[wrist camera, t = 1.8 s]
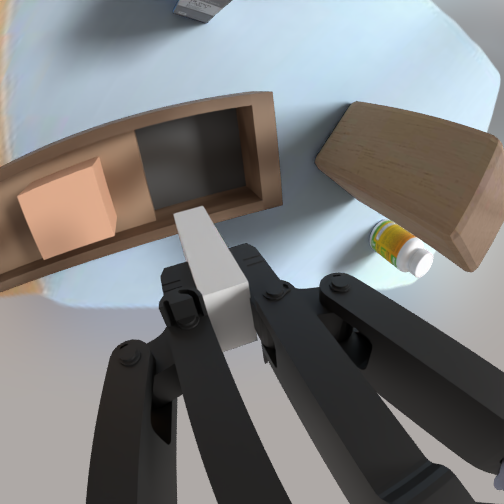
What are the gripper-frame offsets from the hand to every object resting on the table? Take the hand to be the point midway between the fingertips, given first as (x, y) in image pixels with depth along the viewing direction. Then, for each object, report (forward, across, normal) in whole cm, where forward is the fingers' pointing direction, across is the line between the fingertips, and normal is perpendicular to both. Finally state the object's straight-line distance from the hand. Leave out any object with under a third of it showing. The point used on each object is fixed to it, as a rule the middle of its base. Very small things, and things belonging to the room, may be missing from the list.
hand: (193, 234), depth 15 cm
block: (+16, +23, -3) cm, 28 cm away
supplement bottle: (+17, +29, -17) cm, 37 cm away
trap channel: (+16, -14, 0) cm, 21 cm away
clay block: (+13, -9, 0) cm, 16 cm away
